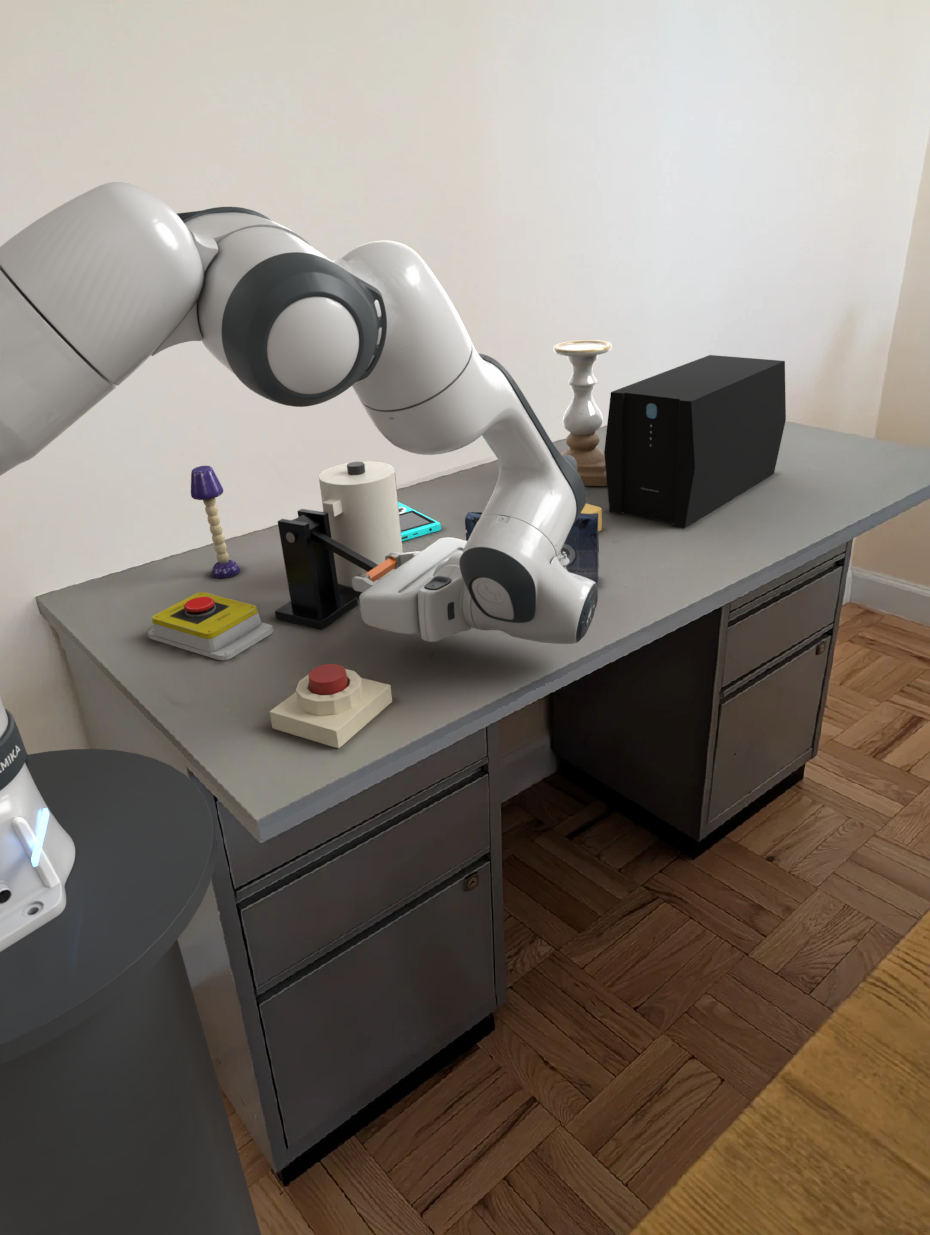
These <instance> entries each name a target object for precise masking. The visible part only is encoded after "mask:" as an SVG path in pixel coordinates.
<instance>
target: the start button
mask: <svg viewBox="0 0 930 1235" xmlns="http://www.w3.org/2000/svg"><path fill="white" fill-rule="evenodd" d="M345 669H346V668H345V667H344V666H343V665H340V664H337V663H326V664H321V665H318V666H316V667H314V668H313V669H311V670H310V671H309V673H308V674H309V682H310V688H311V692H312V693H313V694H317V695H332V694H335V693H338V692H341V691H343V690H344V689H346V688H347V686H348V683H347V676H346V670H345Z"/></svg>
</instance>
